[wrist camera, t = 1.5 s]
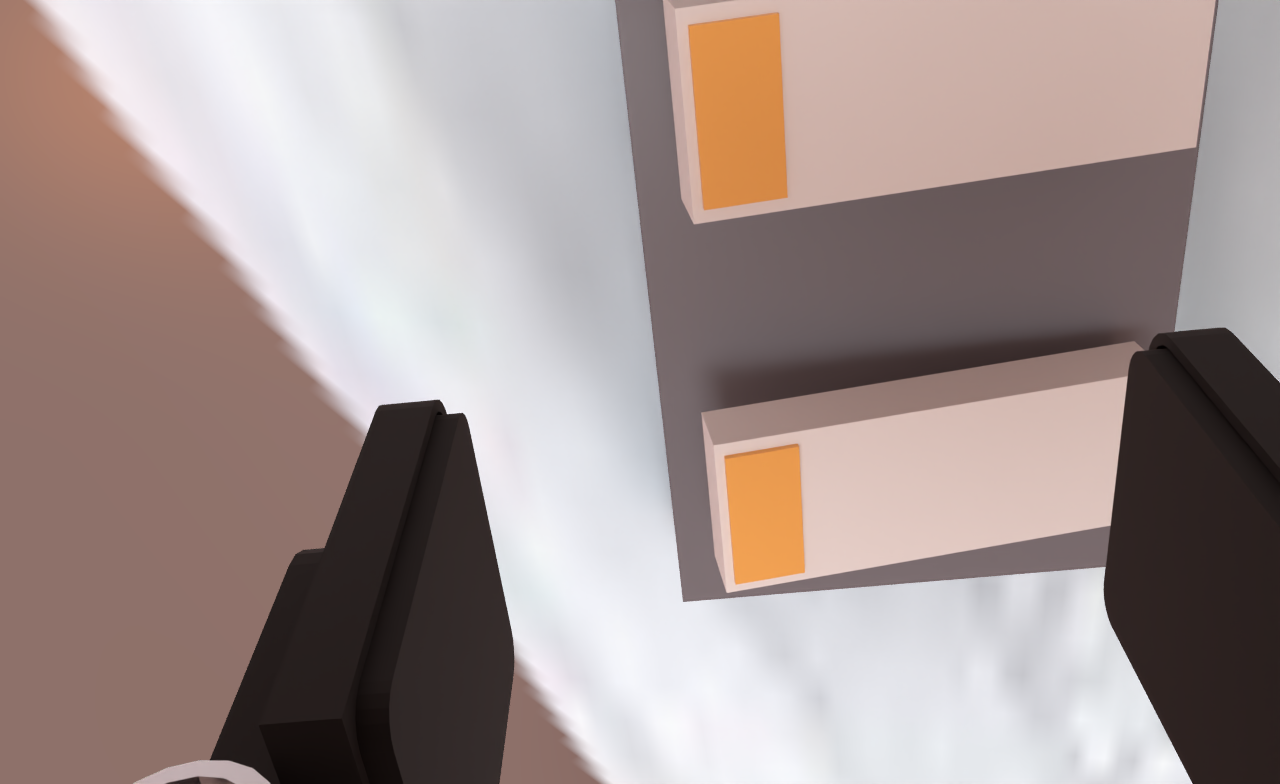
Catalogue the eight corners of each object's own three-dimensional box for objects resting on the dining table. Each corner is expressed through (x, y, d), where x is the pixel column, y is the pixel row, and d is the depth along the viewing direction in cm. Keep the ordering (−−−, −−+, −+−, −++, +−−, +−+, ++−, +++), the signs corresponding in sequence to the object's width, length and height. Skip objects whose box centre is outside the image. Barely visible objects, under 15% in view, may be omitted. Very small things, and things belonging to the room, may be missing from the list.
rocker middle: (1183, -80, 22) (1229, -68, 21) (1158, 126, 24) (1199, 149, 23) (662, -7, 22) (676, 10, 20) (681, 199, 24) (695, 226, 22)
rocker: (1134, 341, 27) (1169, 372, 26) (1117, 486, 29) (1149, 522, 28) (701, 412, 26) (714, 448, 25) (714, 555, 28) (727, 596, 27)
